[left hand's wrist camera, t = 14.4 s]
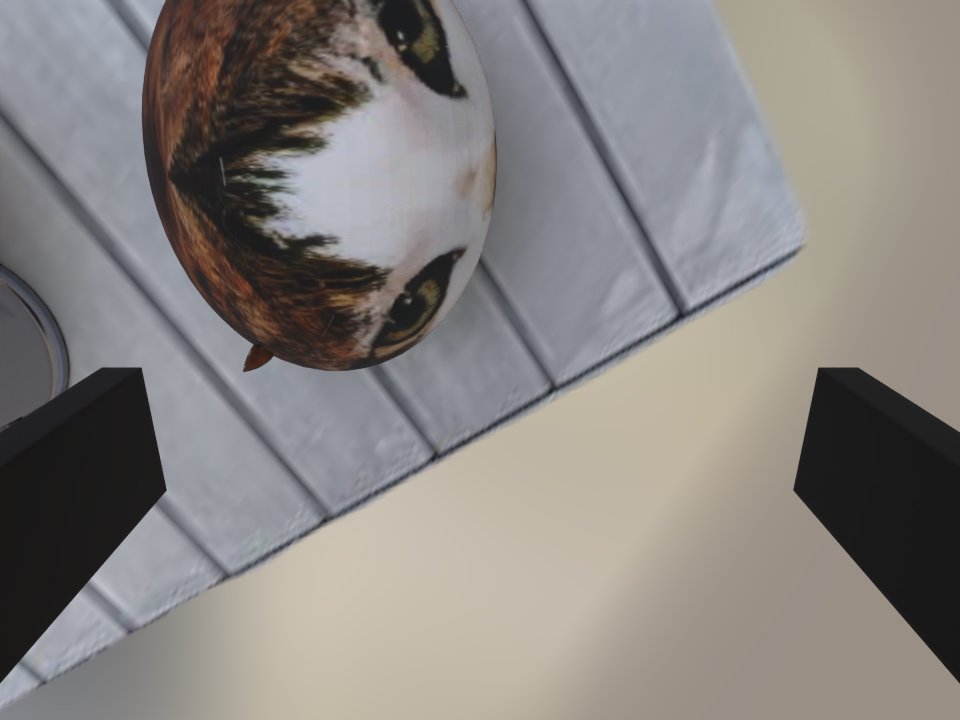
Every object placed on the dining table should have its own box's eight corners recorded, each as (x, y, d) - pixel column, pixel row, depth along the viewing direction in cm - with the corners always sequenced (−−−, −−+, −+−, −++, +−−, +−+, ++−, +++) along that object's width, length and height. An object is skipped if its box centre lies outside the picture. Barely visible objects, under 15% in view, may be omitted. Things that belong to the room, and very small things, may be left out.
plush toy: (575, 347, 40) (316, 476, 25) (386, 293, 50) (126, 362, 36) (610, -67, 31) (251, -224, 17) (373, -28, 42) (28, -105, 27)
